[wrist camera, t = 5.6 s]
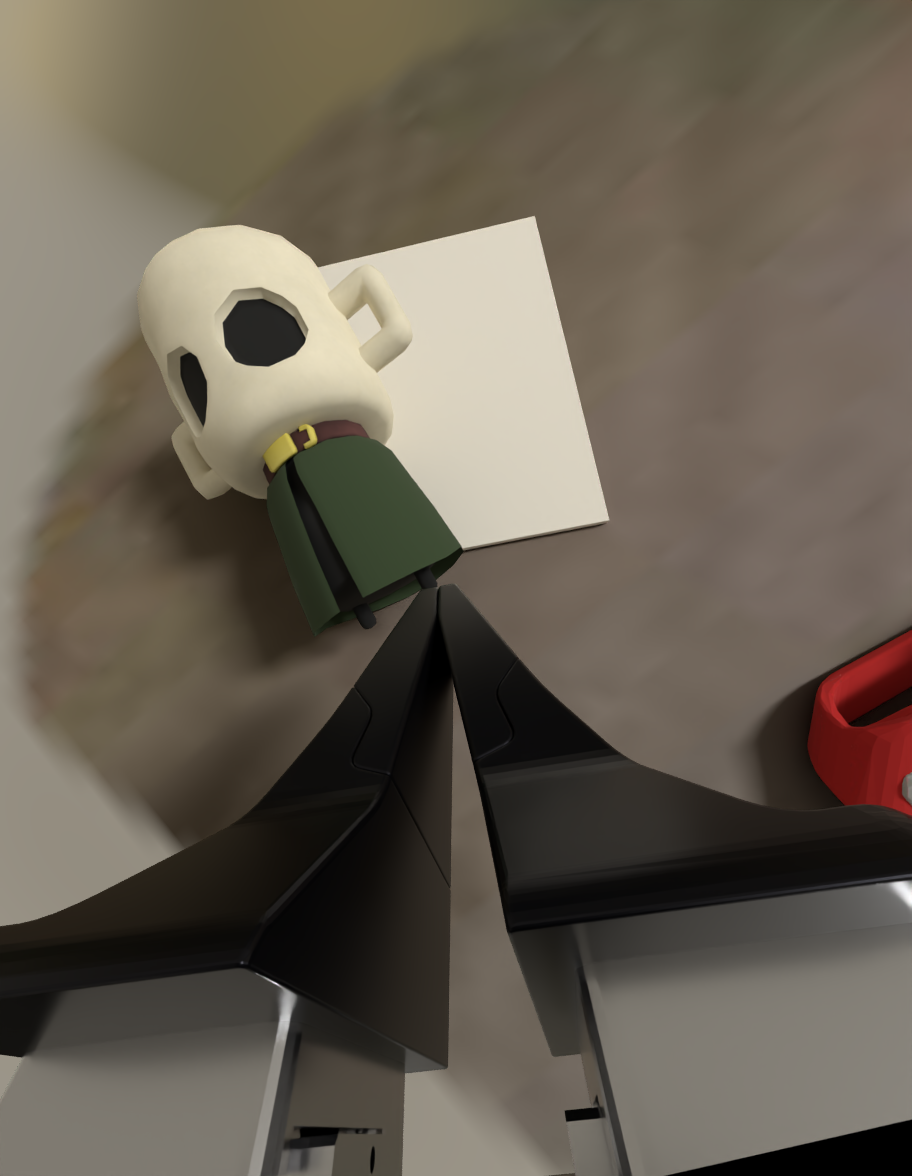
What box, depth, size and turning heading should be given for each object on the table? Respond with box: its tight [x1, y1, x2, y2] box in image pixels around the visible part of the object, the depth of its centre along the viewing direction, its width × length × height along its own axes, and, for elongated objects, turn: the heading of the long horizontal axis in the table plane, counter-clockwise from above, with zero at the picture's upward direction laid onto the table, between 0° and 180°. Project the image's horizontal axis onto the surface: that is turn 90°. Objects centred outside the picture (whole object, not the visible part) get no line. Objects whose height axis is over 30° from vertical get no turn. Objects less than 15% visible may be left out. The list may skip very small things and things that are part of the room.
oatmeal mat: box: [318, 216, 609, 550], centre depth 19 cm, size 16×14×1 cm
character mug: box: [137, 225, 463, 637], centre depth 15 cm, size 11×7×13 cm
